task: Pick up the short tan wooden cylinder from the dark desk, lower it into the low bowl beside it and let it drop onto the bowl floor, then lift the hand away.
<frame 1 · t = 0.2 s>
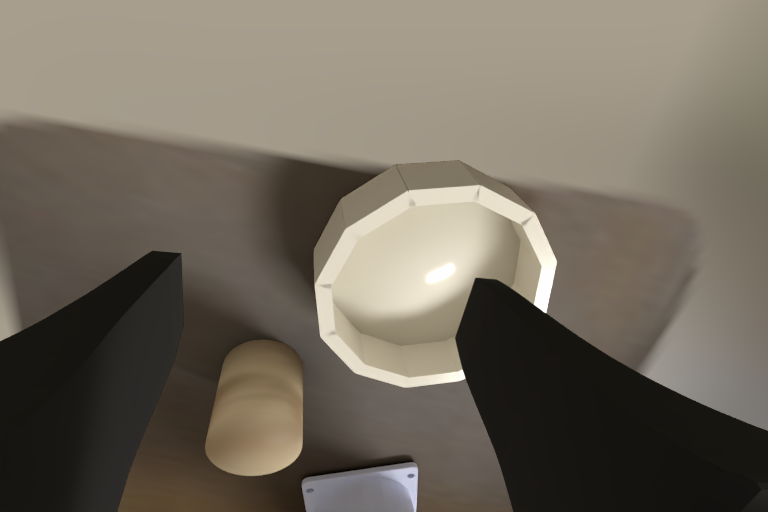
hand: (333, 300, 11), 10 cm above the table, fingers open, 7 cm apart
tan wooden cylinder: (263, 369, 25), on the table
bowl: (423, 265, 23), on the table
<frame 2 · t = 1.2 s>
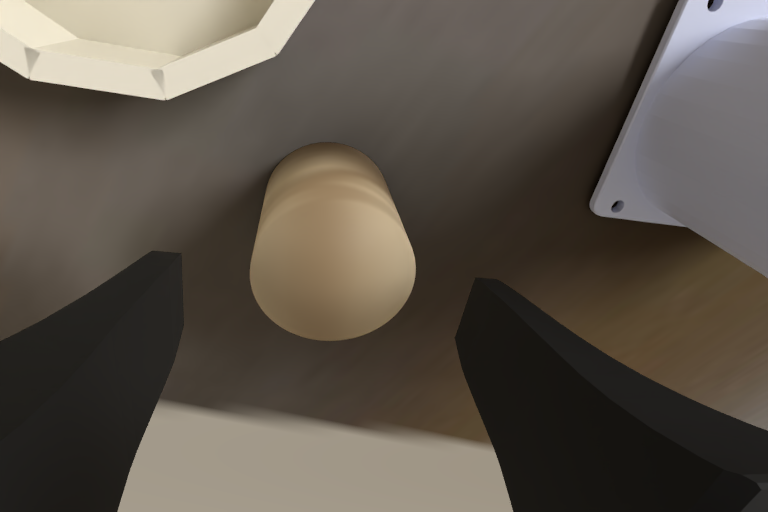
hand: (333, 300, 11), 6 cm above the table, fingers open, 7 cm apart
tan wooden cylinder: (328, 202, 16), on the table
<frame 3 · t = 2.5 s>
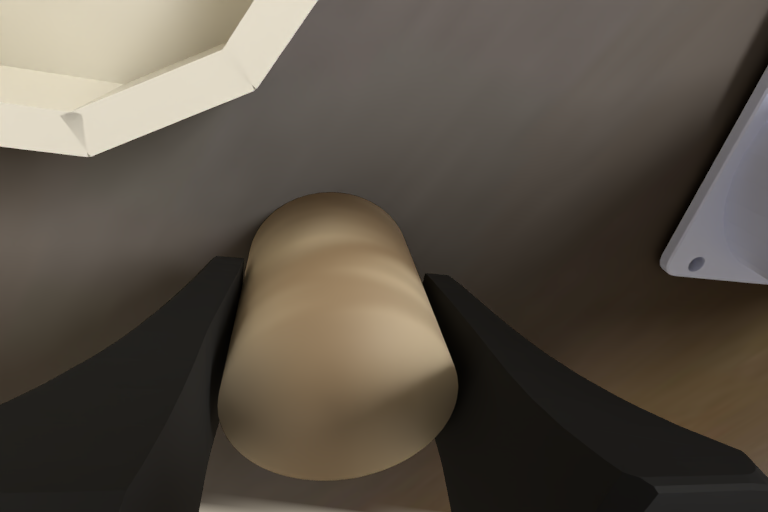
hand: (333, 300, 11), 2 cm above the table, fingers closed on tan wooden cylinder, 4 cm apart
tan wooden cylinder: (330, 265, 13), on the table, touching gripper
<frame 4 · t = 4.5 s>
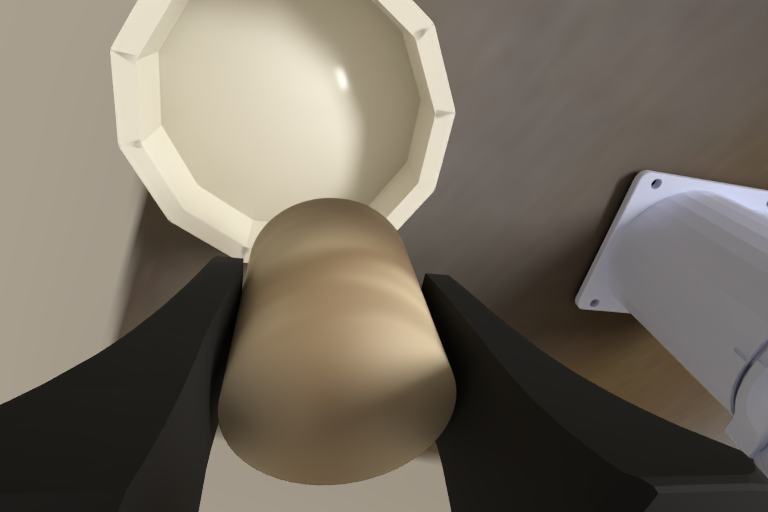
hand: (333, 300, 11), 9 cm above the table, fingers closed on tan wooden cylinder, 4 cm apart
tan wooden cylinder: (329, 270, 13), point 8 cm above the table, touching gripper
bowl: (294, 108, 18), on the table
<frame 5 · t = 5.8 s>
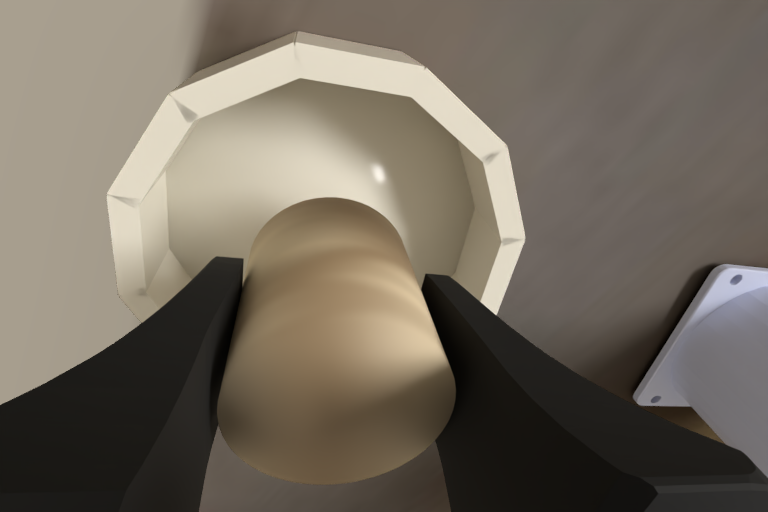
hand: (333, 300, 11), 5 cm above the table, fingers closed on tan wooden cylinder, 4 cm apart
tan wooden cylinder: (329, 269, 13), point 3 cm above the table, touching gripper
bowl: (326, 219, 15), on the table
when the fingers open (5 cm above the table, at t = 6.5 s): tan wooden cylinder drops 2 cm, resting on bowl.
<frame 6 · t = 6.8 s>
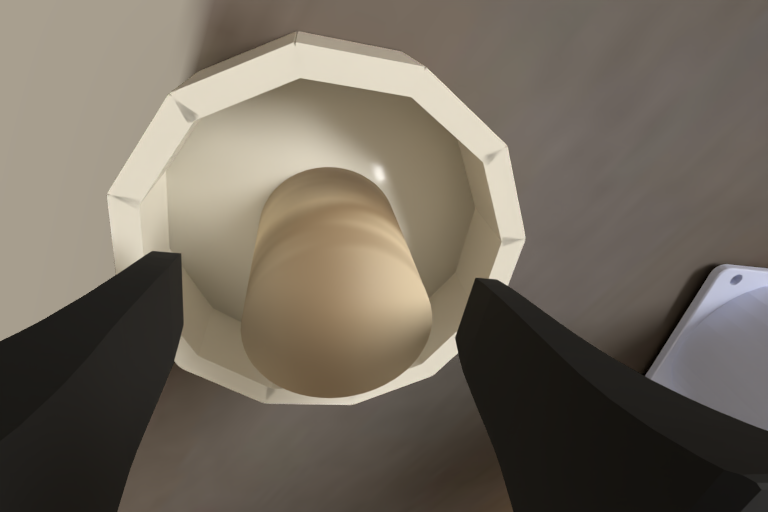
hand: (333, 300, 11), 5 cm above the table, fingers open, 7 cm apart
tan wooden cylinder: (328, 231, 15), point 1 cm above the table, touching bowl
bowl: (326, 219, 15), on the table
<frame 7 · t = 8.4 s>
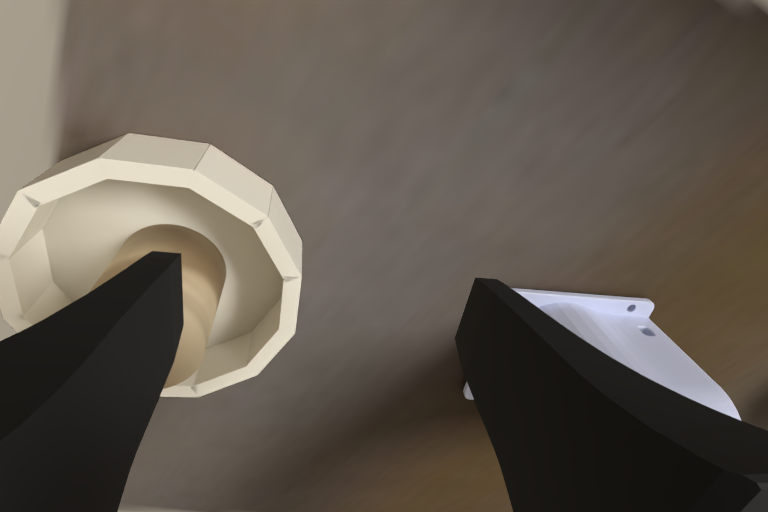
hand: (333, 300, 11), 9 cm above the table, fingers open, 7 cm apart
tan wooden cylinder: (174, 268, 20), point 1 cm above the table, touching bowl
bowl: (175, 258, 20), on the table
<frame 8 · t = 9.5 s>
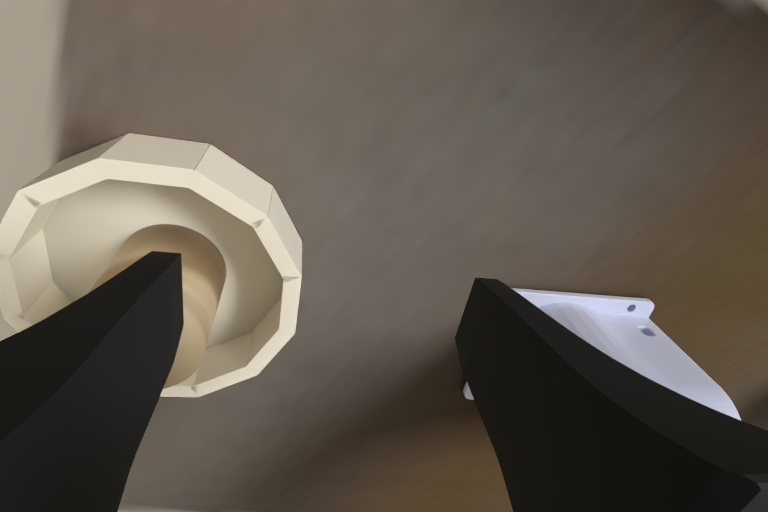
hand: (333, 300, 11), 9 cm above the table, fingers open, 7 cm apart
tan wooden cylinder: (174, 268, 20), point 1 cm above the table, touching bowl
bowl: (175, 258, 20), on the table
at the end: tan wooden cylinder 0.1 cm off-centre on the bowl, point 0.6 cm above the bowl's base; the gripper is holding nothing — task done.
